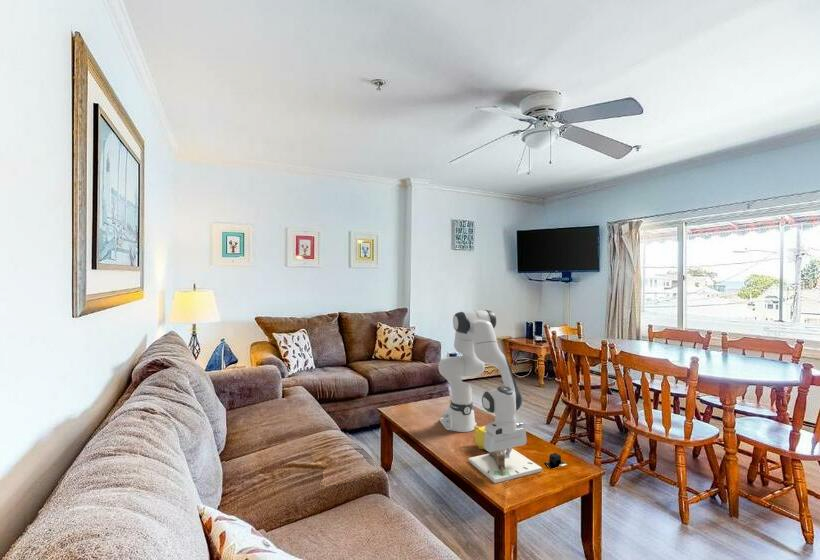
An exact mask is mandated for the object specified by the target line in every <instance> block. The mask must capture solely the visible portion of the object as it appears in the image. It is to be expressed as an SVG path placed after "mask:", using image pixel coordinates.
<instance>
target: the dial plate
mask: <svg viewBox="0 0 820 560" xmlns="http://www.w3.org/2000/svg"><path fill="white" fill-rule="evenodd" d="M506 451H507V449H506V450H505V451H504V452H505V453H506ZM501 454H502V453H501ZM468 462H469V463H470V464H471V465H472V466H474V467H475V469H477V470H479V471H480V472H481V473H482V474H483V475H484V476H486V477H487V478H488V479H489V480H490V481H492V482H493V483H494V484H498V483H502V482H505V481H506V482H507V481H510V480H513V479H517V478H521V477H526V476H529V475H533V474H537V473H541V472H543V467H541V466H540V465H539V464H537V463H536V462H534V461H532V460H531V459H529V458H528V457H526V456H525V455H523V454H521V453H520V452H518V451H517V450H515V449H514V448H512V450H511V452H510V457H509V458H506V459H505V469H504V470H505V474H503V473H502V471H501V469H499V468H498V466H497V464H496V462H495V460H494V457H492V456H490V455H489V453H486V454H481V455H477V456H472V457H468Z"/></svg>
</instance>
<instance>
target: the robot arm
mask: <svg viewBox="0 0 820 560" xmlns="http://www.w3.org/2000/svg"><path fill="white" fill-rule="evenodd" d="M452 325H453V329H454V330H455V332H454V333H455V334H454V342H453V347H454V349H455V351H456V352H458V353H459V354H461V356H448V357H444V358H441V359H440V361H439V362H438V366H437V369H438V371H439V374H440V375H441V376H442V377H443V378H444V379H445V380H447V382H448V383H449V386H450V391H451V393H450V394H451V399H450V400H449V407H447V408H445V410H444V411H443V415H442V417H440V418H439V422H440V423H441V425H442V426H443V427H444V428H445V430H446V431H453V432H458V433H468V432H472V431H475V430H474V426H478V425H477V422H476V418H475V411H474V409H473V406H474V404H473V400H472V399H473V398H472V396H473V395H472V394H473V393H472V392H473V390H472V387H471V385H470V384H469V383H466V382H464V381H463V380H462V378H464V377H476V376H479V375H482V374H483V373H484V371H485V367H486V366H485V364H486V365H490V366H493V367H495V368H496V369H498V371H499V373H500V376H501V379H502V382H503V385H502V386H501V385H500V386H497V387H496V388H495V389H491V390H487V391H485V392H483V394H482V398H481V403H482V407H483V409H484V410H485V411H487V412H488V413H491V414H494V415H495V417H494V420H492V421H491V422H490V423H488V424H486V425H484V426H485V430H486V431H487V432H486V433H485V435H484V448H485V449H486V450H485V449H484V450H485V451H487V453H489V452H494V451H498V450H500V451H501V453H502V456H503V457H504V459H506V458H509V457H510V452H511V450H512V449H513V448H516V447H519V446H525V445H526V444H527V442H528V440H527V432H526V424H524V423H523V422H518V423H517V416H516V413H517V411H518V410H519V409H520V408H521V406H522V405H523V396H522V393H521V392H520V390H519V388H518V386H517V382H516V379H515V377H514V373H513V370H512V367H511V365H510V362H509V359H508V358H507V355H506V354H505V353H503V352H502V351H501V349H500V347H499V345H498V340H497V336H496V332H495V327H496V326H497V317H496V314H495V312H493V311H492V310H489V309H485V310H480V309H478V310H477V309H474V310H469V311H460V312H459V311H458V312H456V313H455V314H454V315H453V318H452ZM505 450H507V451H506V453H505V452H504V451H505Z"/></svg>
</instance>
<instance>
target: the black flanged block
mask: <svg viewBox="0 0 820 560" xmlns="http://www.w3.org/2000/svg"><path fill="white" fill-rule="evenodd" d="M548 458H549V459H548V461H547V462H545V463H546V464H547V465H548V466H549V467H551V468H555V467H558V466H561V467H564V466H567V463H566V462H565V461H563V460H562V456H561V454H558V453H556V452H554V453H551V454H549V457H548ZM548 466H547V467H548ZM549 467H548V468H549ZM551 468H550V469H551ZM558 468H559V467H558ZM555 469H556V468H555Z"/></svg>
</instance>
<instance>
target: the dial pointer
mask: <svg viewBox="0 0 820 560" xmlns="http://www.w3.org/2000/svg"><path fill="white" fill-rule="evenodd" d="M488 454H489V455H490V456H492V457H494V460H495V462H496V464H497V466H498V468H499V469H501V471H502V473H503V474H505V470H504V469H505V459H504V457H503V456H502V454H501V451H500V450H498V451H494V452H488Z"/></svg>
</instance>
